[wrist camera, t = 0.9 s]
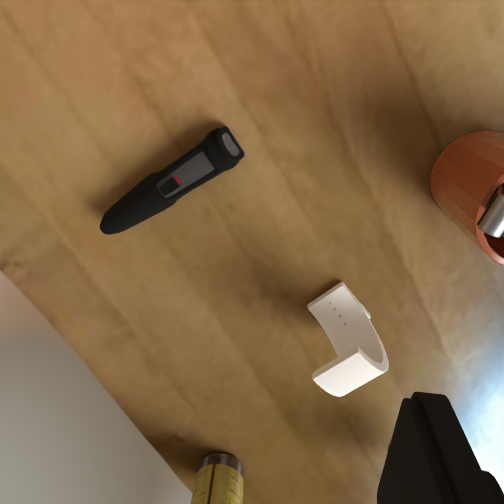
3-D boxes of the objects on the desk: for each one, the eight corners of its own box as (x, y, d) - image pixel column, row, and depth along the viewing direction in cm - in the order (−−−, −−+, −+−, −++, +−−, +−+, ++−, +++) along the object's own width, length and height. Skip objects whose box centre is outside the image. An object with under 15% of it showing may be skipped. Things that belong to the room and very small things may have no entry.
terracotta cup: (460, 116, 38) (521, 136, 28) (543, 150, 38) (633, 183, 28) (413, 200, 41) (452, 245, 31) (490, 230, 42) (553, 284, 32)
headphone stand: (342, 280, 45) (359, 351, 34) (375, 320, 47) (401, 399, 36) (306, 304, 47) (312, 379, 36) (340, 341, 48) (355, 424, 37)
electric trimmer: (100, 205, 44) (87, 215, 41) (225, 121, 40) (219, 126, 37) (124, 234, 45) (112, 246, 42) (247, 156, 41) (244, 164, 38)
